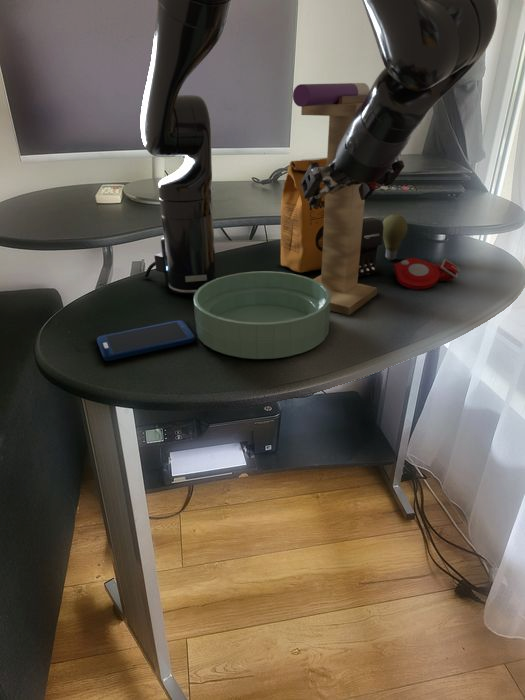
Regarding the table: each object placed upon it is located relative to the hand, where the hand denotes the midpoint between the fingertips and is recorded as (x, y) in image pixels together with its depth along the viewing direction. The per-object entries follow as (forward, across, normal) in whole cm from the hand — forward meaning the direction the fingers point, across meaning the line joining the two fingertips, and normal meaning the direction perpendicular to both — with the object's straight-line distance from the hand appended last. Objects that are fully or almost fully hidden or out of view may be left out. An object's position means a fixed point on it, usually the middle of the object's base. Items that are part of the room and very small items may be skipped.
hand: (337, 198), depth 77 cm
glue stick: (-9, +1, -11) cm, 14 cm away
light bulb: (+27, -20, +4) cm, 34 cm away
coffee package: (+27, -2, +3) cm, 27 cm away
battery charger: (+21, -10, +8) cm, 25 cm away
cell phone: (+5, +34, +16) cm, 38 cm away
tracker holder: (+16, -20, +13) cm, 29 cm away
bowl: (+5, +16, +18) cm, 24 cm away
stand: (+13, 0, +13) cm, 19 cm away
